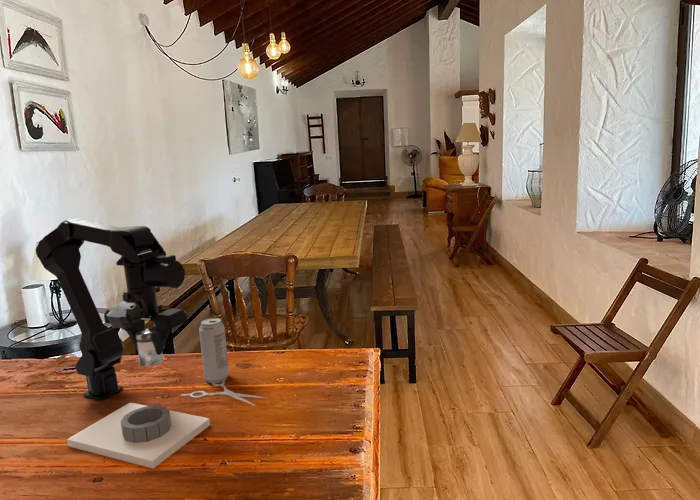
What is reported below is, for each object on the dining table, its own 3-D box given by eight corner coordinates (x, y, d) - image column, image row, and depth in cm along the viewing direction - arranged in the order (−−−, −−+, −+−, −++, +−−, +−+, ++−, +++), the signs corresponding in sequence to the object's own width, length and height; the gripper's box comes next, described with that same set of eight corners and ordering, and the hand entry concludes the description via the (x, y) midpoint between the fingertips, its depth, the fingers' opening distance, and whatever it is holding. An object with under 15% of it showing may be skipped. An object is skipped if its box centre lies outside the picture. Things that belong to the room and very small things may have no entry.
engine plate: (68, 446, 105) (64, 425, 104) (130, 408, 119) (128, 389, 119) (153, 468, 96) (150, 445, 95) (210, 425, 110) (207, 404, 110)
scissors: (212, 377, 133) (277, 390, 124) (212, 380, 134) (277, 393, 124) (180, 395, 124) (247, 411, 115) (180, 398, 125) (247, 414, 115)
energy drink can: (214, 372, 137) (208, 316, 134) (234, 375, 134) (228, 318, 132) (199, 382, 131) (193, 324, 128) (220, 385, 129) (213, 326, 126)
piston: (133, 365, 118) (129, 334, 117) (150, 356, 123) (146, 327, 121) (152, 367, 116) (147, 336, 115) (168, 358, 121) (164, 328, 119)
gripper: (78, 293, 112) (89, 362, 115) (147, 298, 105) (157, 372, 108) (119, 279, 122) (129, 344, 125) (184, 283, 115) (193, 352, 118)
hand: (150, 353), depth 119 cm, fingers closed on piston, 5 cm apart
